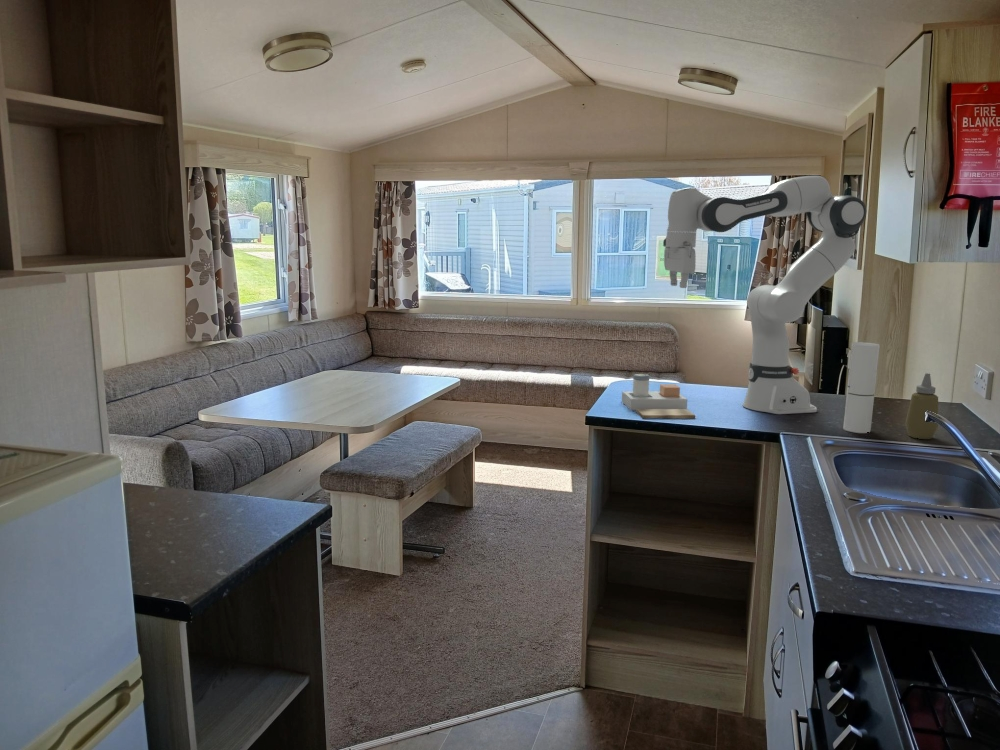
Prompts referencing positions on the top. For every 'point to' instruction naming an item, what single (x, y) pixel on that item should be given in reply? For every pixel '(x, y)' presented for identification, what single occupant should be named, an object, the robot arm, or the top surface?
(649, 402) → the block
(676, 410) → the cork pad
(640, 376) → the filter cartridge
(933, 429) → the squeeze bottle
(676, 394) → the orange brown block
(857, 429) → the cylindrical container
